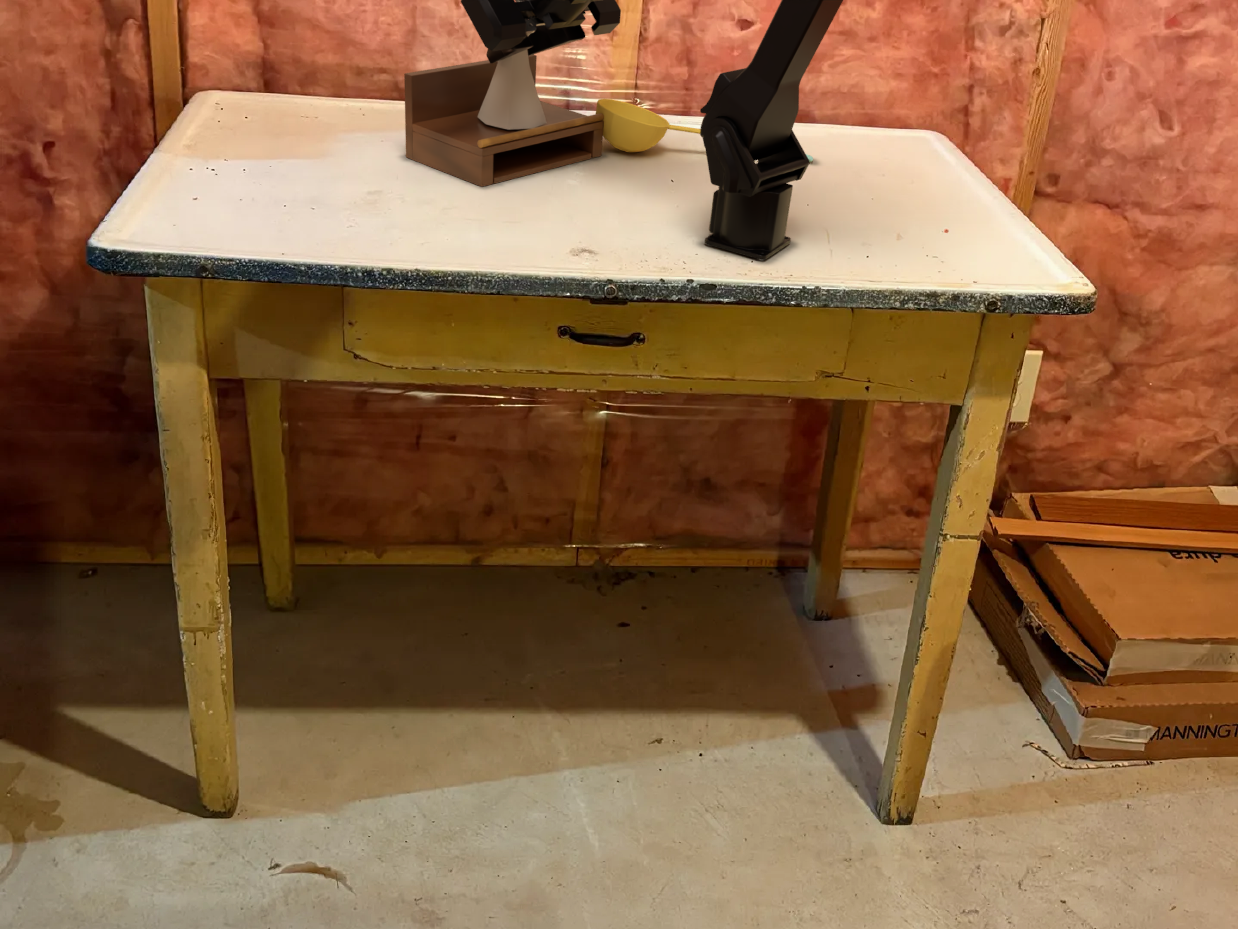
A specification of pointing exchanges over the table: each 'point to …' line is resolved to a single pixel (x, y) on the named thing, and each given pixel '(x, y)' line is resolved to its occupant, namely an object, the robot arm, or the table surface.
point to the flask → (512, 96)
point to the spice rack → (488, 128)
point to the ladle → (635, 126)
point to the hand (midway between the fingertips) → (503, 56)
